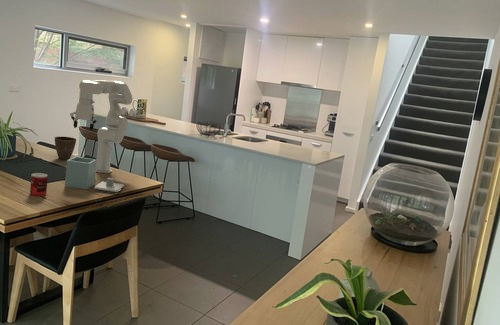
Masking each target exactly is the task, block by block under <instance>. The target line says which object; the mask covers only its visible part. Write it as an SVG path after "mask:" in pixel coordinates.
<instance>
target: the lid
mask: <svg viewBox="0 0 500 325" xmlns="http://www.w3.org/2000/svg"><path fill="white" fill-rule="evenodd" d="M123 187H124V188H125V184H123V183H116V182H115V178H113V177H107V178H106V181H104V180H103V181H101V182H99V183H97V184H96V185H94V190H95V189H98V190H104V191H111V192H118V191H119V190H120V189H122V188H123Z"/></svg>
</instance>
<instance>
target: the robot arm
mask: <svg viewBox="0 0 500 325" xmlns="http://www.w3.org/2000/svg"><path fill="white" fill-rule="evenodd" d="M78 87H79V88H78V89H79V95H78V96H79V98H78V100H79V101H78V103H77V104H76V109H75V111H73V112H70V113H69V115H70V117H71V118H70V119H71V120H72V121H73V129H75V128H78V120H82V121H83V120H84V121H89V123H90V124H89V131H93V130H94V128H95V127H94V126H95V124H96V123H97V122H98V120H99V117H98V116H97V115H96V114H95V108H94V107H95V106H94V104H95V101H94V100H93V97H94V95H101V94H104V95H107V94H108V95H107V96H108V102H109V109H108V110H109V111H108V113H107V114H106V118H105V119H104V125H105V127H100V128H99V129H98V130H97V132H96V133H97V151H96V160H97V163H96V173H101V174H109V173H112V171H113V170H112V168H111V159H112V148H113V146H112V144H113V143H115V144H120V143H122V141H123V140H124V137H125V134H126V131H127V129H128V126H129V121H128V118H127V117H125V116H121V115H122V112H123V111H122V108H121V106H120V105H127V106H128V105H131V104H132V102H133V95H132V93H131V90H130V88H129V86H128V85H127V83H125V82H122V81H118V80H93V79H91V80H90V79H83V80H81V81H80V82H79V86H78ZM74 115H75V116H74ZM111 143H112V144H111Z"/></svg>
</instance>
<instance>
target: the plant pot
mask: <svg viewBox="0 0 500 325" xmlns="http://www.w3.org/2000/svg"><path fill="white" fill-rule="evenodd" d="M54 144H55V145H54V146H55V150H56V154H57V158H58V160H61V161H67V160H69V159H71V158H72V155H73V153H74V150H75V147H76V144H77V138H74V137H70V136H54Z"/></svg>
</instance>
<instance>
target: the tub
mask: <svg viewBox="0 0 500 325" xmlns="http://www.w3.org/2000/svg"><path fill="white" fill-rule="evenodd" d="M96 163H97V158H96V159H95V158H88V157H81V156H74V157H70V159H69V160H66V168H65V180H64V187H68V188H74V189H75V188H76V189H81V190H82V189H83V190H88V189H90V188H91V187H92V186H95V183H96V175H97V174H96V173H97V172H96Z"/></svg>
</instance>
